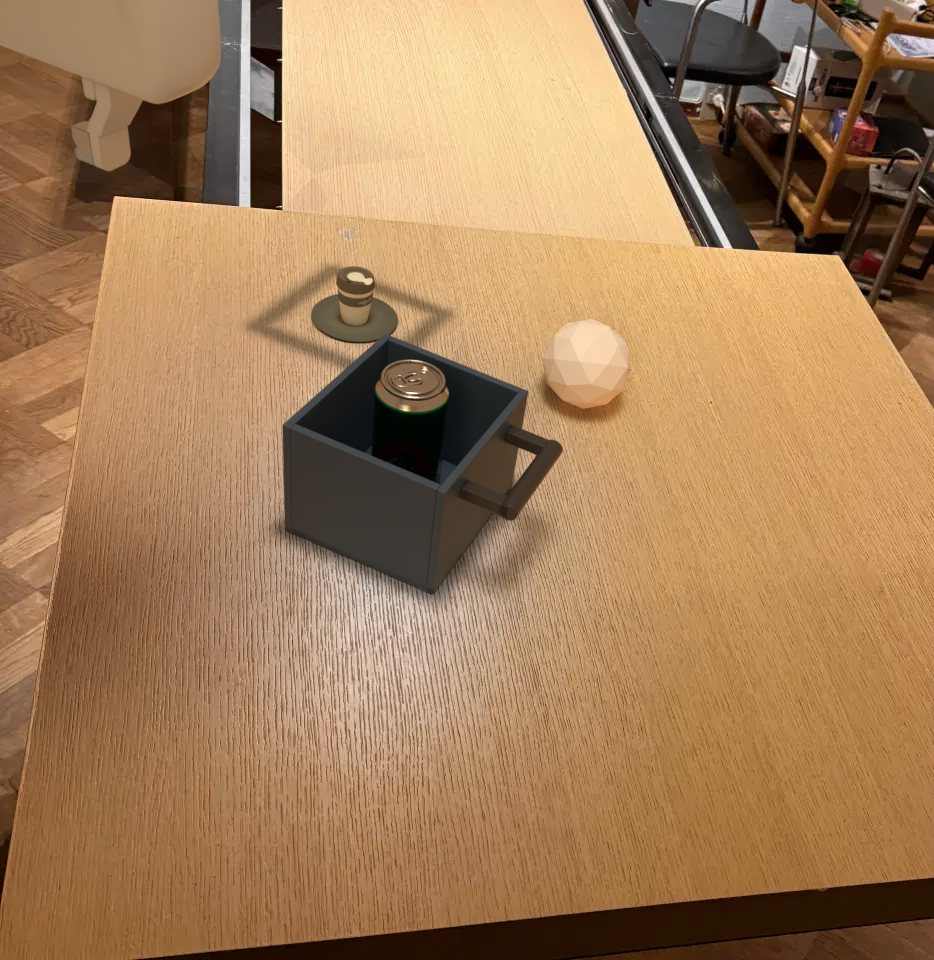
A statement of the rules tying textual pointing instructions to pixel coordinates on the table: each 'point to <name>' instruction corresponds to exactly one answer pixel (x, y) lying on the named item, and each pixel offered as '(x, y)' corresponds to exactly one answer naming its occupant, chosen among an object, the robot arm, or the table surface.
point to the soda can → (411, 417)
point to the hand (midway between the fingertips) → (17, 128)
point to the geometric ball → (586, 363)
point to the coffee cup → (354, 309)
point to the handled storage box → (397, 492)
